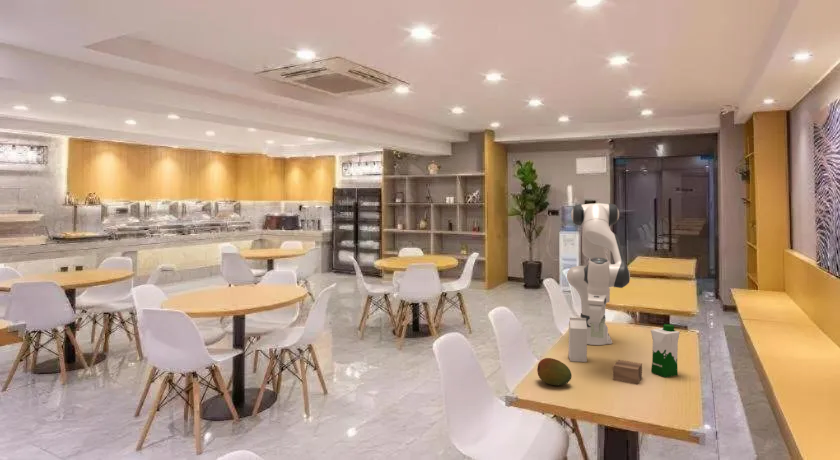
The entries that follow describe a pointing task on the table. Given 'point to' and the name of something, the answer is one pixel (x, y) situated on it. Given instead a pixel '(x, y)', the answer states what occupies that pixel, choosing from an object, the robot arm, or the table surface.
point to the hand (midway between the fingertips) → (597, 329)
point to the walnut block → (627, 371)
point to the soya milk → (665, 351)
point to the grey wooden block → (601, 329)
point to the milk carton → (578, 339)
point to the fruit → (553, 372)
